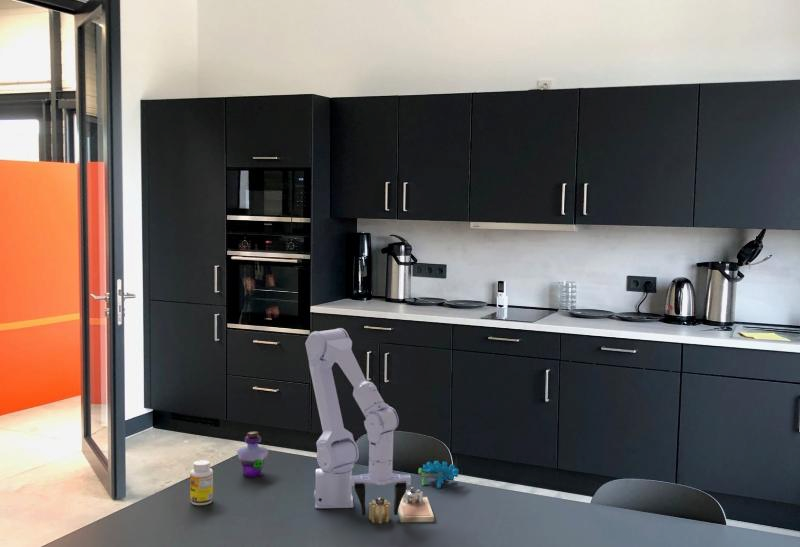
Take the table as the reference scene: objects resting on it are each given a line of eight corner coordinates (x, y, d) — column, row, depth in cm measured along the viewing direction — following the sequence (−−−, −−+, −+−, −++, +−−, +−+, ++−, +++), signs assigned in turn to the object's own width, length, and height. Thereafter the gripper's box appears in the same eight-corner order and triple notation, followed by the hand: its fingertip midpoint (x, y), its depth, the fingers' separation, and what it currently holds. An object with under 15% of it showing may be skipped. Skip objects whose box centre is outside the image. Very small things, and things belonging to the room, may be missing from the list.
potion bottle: (253, 482, 213) (253, 438, 212) (230, 475, 218) (230, 433, 217) (274, 473, 221) (275, 431, 220) (252, 467, 225) (252, 426, 224)
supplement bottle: (188, 499, 200) (188, 460, 199) (210, 496, 202) (211, 457, 201) (191, 507, 195) (191, 467, 194) (214, 504, 197) (214, 464, 196)
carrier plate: (400, 522, 189) (401, 516, 188) (395, 501, 201) (395, 497, 201) (434, 521, 189) (434, 516, 189) (426, 501, 202) (426, 496, 202)
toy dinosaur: (462, 475, 218) (454, 458, 211) (461, 495, 214) (451, 478, 207) (424, 476, 221) (414, 458, 214) (422, 495, 217) (411, 478, 210)
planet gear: (369, 523, 187) (370, 502, 187) (368, 515, 192) (368, 494, 192) (390, 523, 188) (391, 502, 187) (388, 515, 193) (389, 494, 192)
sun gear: (403, 504, 197) (404, 491, 196) (401, 497, 202) (402, 484, 201) (423, 504, 197) (424, 491, 197) (421, 497, 202) (421, 484, 202)
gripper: (351, 464, 184) (350, 520, 185) (412, 463, 186) (411, 519, 187) (350, 454, 191) (349, 509, 192) (409, 454, 193) (408, 508, 194)
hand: (379, 513), depth 190 cm, fingers open, 7 cm apart
